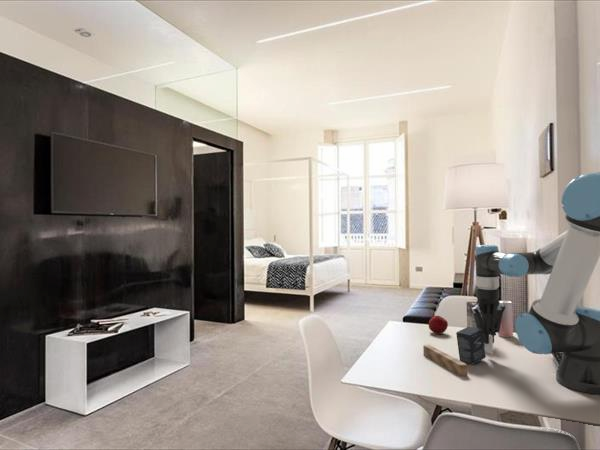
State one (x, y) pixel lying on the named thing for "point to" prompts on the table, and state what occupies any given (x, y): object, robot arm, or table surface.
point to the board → (445, 360)
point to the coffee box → (471, 315)
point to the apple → (438, 324)
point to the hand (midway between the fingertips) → (488, 352)
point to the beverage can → (506, 320)
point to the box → (470, 345)
